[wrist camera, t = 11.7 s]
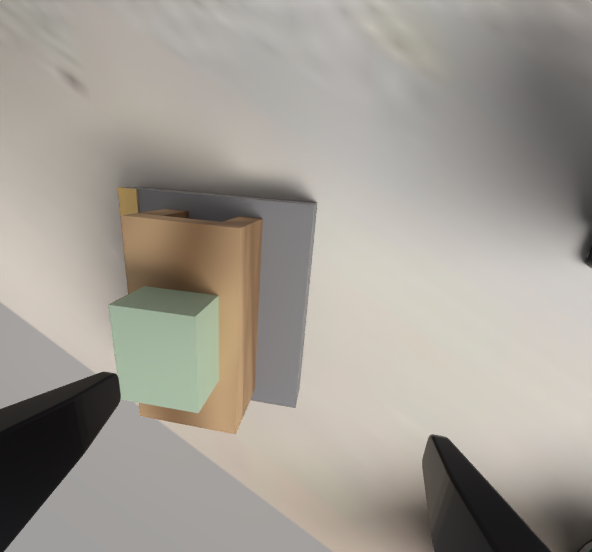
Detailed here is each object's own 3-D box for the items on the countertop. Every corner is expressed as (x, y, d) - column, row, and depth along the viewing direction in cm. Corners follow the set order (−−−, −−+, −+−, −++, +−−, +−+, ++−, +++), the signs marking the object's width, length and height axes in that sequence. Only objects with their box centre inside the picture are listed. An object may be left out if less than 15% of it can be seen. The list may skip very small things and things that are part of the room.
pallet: (262, 218, 18) (240, 228, 14) (254, 389, 21) (235, 434, 17) (166, 208, 18) (120, 215, 14) (175, 375, 22) (140, 415, 18)
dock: (317, 202, 19) (314, 205, 17) (299, 389, 23) (295, 408, 21) (139, 186, 20) (117, 187, 18) (154, 365, 24) (137, 381, 22)
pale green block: (218, 295, 15) (195, 316, 13) (219, 380, 16) (198, 413, 14) (144, 285, 15) (108, 304, 13) (151, 369, 17) (120, 399, 15)
